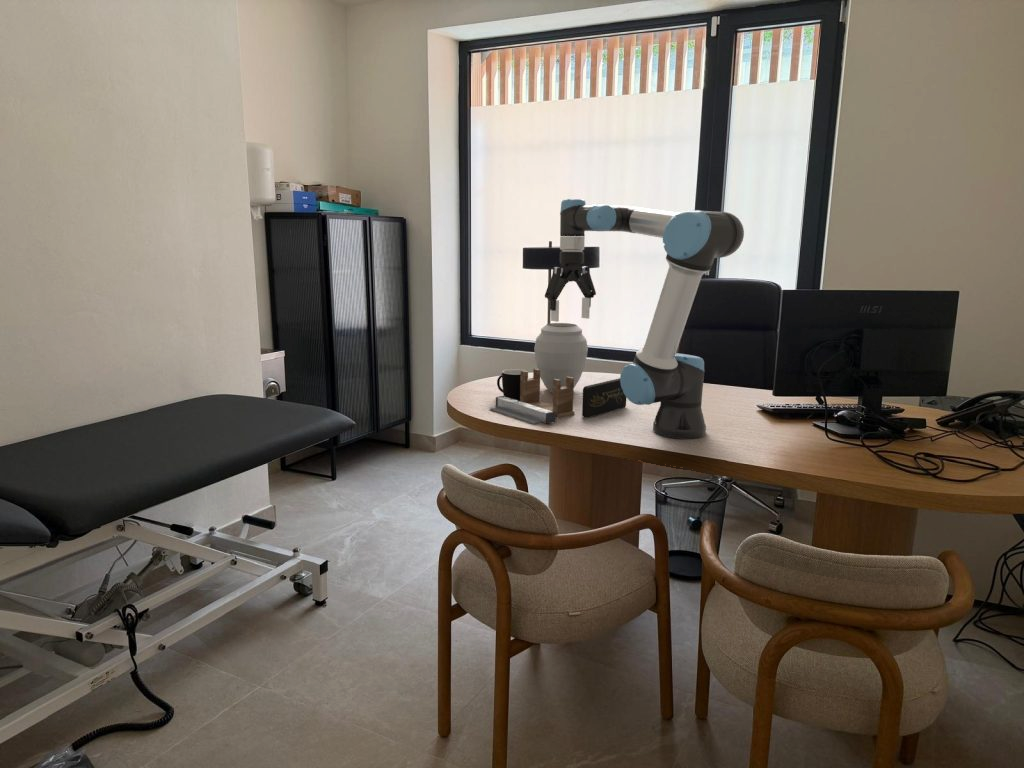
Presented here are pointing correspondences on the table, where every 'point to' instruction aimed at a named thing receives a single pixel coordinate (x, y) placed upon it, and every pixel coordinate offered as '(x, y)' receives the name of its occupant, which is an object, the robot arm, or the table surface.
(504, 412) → the mat
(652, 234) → the robot arm
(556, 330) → the vase
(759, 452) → the table surface
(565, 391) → the rack
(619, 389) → the nameplate
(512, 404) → the rail
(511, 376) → the mug
